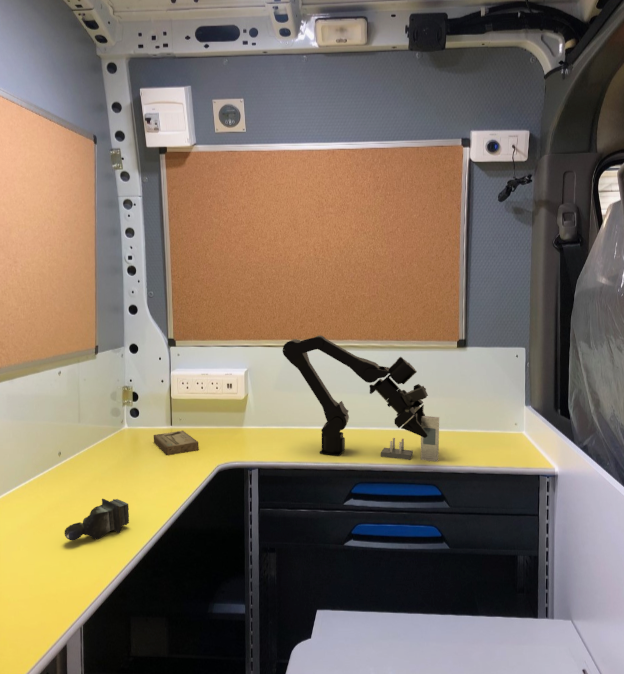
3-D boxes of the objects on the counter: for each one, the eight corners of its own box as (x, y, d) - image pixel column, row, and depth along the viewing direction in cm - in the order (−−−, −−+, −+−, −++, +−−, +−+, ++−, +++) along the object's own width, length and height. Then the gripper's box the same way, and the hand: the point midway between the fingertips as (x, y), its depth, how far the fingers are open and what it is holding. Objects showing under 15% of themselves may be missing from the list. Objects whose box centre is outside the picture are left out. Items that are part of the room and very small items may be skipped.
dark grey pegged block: (380, 456, 166) (380, 440, 166) (384, 452, 171) (384, 436, 170) (409, 459, 163) (410, 443, 163) (412, 455, 168) (412, 439, 167)
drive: (420, 459, 163) (421, 417, 162) (421, 457, 166) (422, 415, 164) (437, 461, 162) (438, 419, 160) (438, 459, 164) (439, 417, 163)
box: (166, 457, 169) (166, 447, 168) (153, 443, 184) (152, 434, 183) (199, 451, 174) (199, 441, 174) (184, 438, 189) (183, 429, 189)
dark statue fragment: (59, 544, 111) (58, 514, 110) (114, 521, 121) (113, 494, 121) (78, 552, 107) (76, 521, 107) (132, 527, 118) (131, 499, 117)
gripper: (405, 382, 155) (444, 423, 152) (416, 372, 172) (451, 408, 169) (378, 407, 158) (416, 447, 155) (392, 395, 176) (426, 431, 173)
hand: (428, 432), depth 163 cm, fingers open, 9 cm apart
